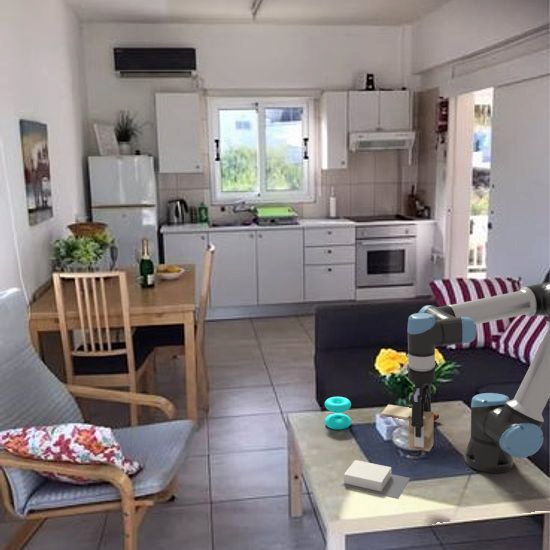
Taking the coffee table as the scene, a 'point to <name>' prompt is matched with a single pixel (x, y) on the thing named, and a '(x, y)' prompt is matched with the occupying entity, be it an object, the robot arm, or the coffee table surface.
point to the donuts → (338, 413)
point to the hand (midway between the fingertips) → (421, 441)
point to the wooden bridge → (407, 414)
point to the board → (387, 487)
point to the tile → (367, 475)
